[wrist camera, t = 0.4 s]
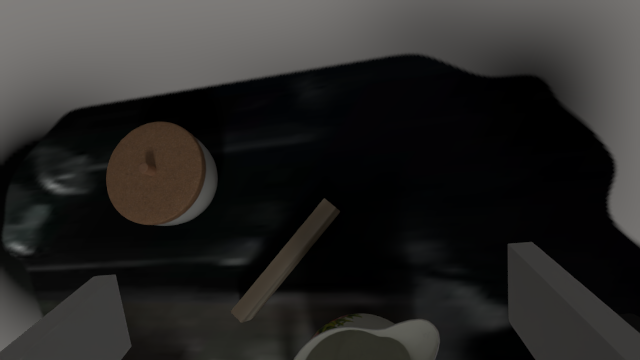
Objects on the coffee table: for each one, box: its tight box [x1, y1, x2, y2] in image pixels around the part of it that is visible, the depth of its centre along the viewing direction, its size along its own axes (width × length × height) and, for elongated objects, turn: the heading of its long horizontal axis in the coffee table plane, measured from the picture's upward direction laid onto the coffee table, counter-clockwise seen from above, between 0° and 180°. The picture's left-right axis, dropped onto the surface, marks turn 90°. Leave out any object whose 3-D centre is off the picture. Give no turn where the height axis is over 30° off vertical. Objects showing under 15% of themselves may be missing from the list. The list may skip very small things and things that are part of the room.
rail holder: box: [231, 198, 340, 323], centre depth 43 cm, size 27×15×3 cm, turn 50°
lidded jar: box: [106, 122, 218, 226], centre depth 48 cm, size 11×11×9 cm
